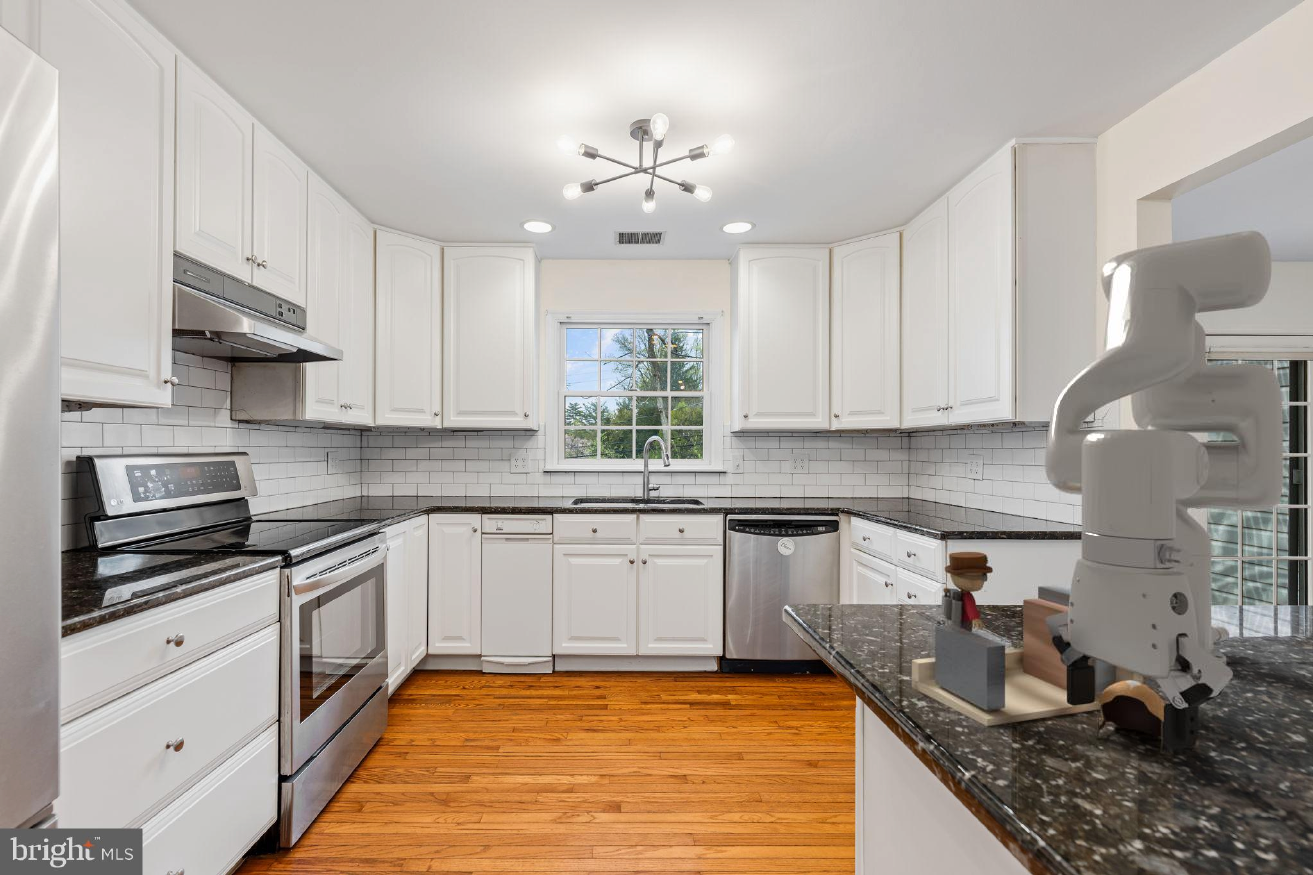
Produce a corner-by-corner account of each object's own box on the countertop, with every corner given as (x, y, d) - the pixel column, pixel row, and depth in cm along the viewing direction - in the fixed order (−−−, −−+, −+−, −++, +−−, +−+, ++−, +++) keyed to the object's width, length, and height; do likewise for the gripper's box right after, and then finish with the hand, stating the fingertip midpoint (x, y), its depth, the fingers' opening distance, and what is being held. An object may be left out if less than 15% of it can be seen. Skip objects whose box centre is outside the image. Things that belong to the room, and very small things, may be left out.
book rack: (1052, 669, 84) (1052, 581, 84) (1143, 705, 73) (1143, 603, 73) (911, 687, 78) (912, 591, 78) (986, 730, 66) (987, 617, 66)
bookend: (951, 680, 76) (952, 624, 76) (1005, 707, 68) (1005, 645, 68) (935, 683, 75) (935, 626, 75) (986, 710, 68) (987, 647, 68)
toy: (1005, 670, 84) (1005, 561, 84) (952, 666, 85) (952, 559, 85) (979, 643, 95) (979, 547, 95) (932, 640, 96) (932, 545, 96)
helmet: (1166, 788, 60) (1176, 719, 65) (1160, 748, 58) (1170, 679, 62) (1095, 765, 65) (1109, 702, 69) (1086, 726, 62) (1101, 663, 66)
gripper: (1257, 567, 54) (1258, 762, 54) (1075, 538, 71) (1074, 686, 70) (1197, 571, 52) (1197, 773, 52) (1023, 540, 69) (1023, 693, 68)
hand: (1126, 723), depth 61 cm, fingers open, 9 cm apart
